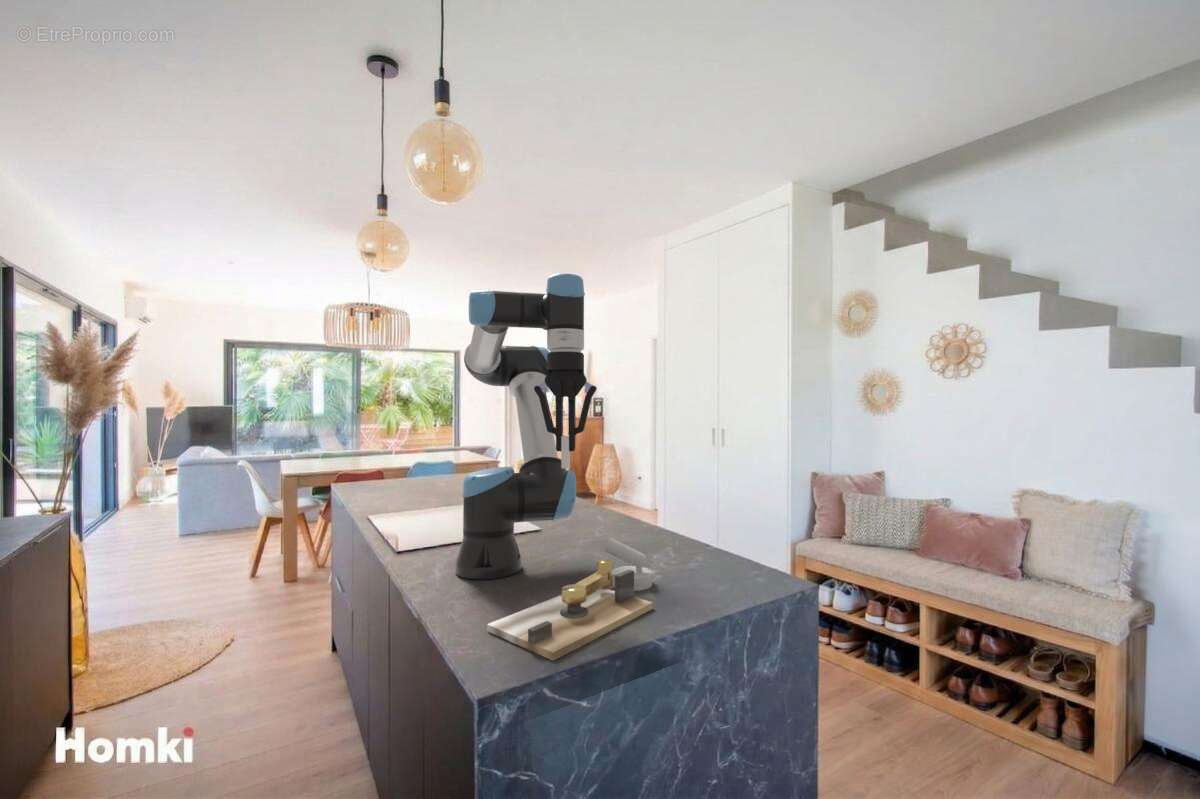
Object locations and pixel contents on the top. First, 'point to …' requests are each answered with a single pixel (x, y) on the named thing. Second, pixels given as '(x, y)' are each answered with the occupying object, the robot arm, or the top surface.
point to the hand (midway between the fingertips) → (565, 467)
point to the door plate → (572, 619)
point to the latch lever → (589, 584)
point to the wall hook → (633, 557)
